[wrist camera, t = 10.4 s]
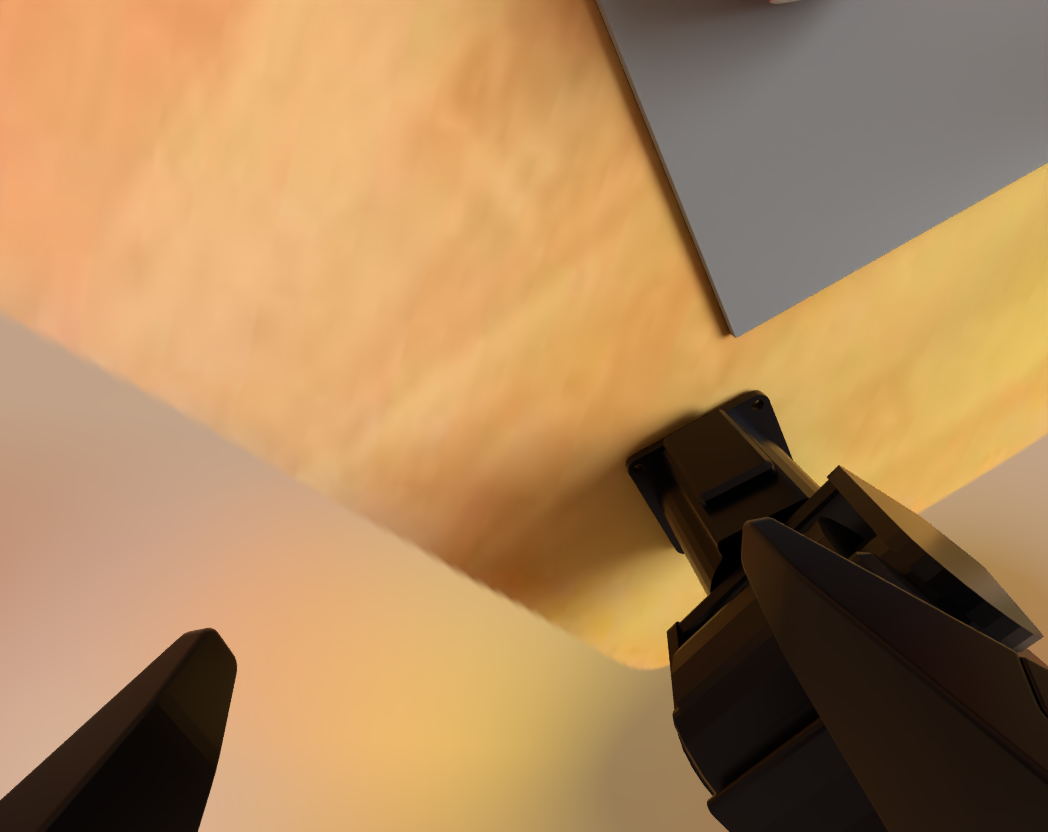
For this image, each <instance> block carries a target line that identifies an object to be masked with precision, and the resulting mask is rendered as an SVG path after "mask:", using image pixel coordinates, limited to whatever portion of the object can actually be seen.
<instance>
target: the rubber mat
mask: <svg viewBox="0 0 1048 832" xmlns="http://www.w3.org/2000/svg"><path fill="white" fill-rule="evenodd" d="M596 3H597V5H598V8H599V10H600V13H601V15H602V18H603V20H604V22H605V25H606V27H607V30H608V32H609V35H610V37H611V40H612V42H613V45H614V47H615V50H616V52H617V54H618V57H619V59H620V62H621V64H622V67H623V69H624V72H625V74H626V77H627V79H628V82H629V84H630V86H631V89H632V91H633V94H634V96H635V99H636V101H637V104H638V106H639V109H640V111H641V114H642V116H643V118H644V121H645V123H646V126H647V128H648V131H649V133H650V136H651V138H652V141H653V143H654V146H655V148H656V150H657V153H658V155H659V158H660V160H661V163H662V165H663V168H664V170H665V173H666V175H667V178H668V180H669V182H670V185H671V187H672V190H673V192H674V195H675V197H676V200H677V202H678V205H679V207H680V210H681V212H682V215H683V217H684V219H685V222H686V224H687V227H688V229H689V232H690V234H691V237H692V239H693V242H694V244H695V247H696V249H697V251H698V254H699V256H700V259H701V261H702V264H703V266H704V269H705V271H706V274H707V276H708V279H709V281H710V283H711V286H712V288H713V291H714V293H715V296H716V298H717V301H718V303H719V306H720V308H721V311H722V313H723V315H724V318H725V320H726V323H727V325H728V328H729V330H730V333H731V335H733V336H734V337H735V338H737V337H739V336H741V335H742V334H744V333H746V332H748V331H749V330H751V329H753V328H755V327H757V326H758V325H760V324H762V323H764V322H765V321H767V320H769V319H771V318H773V317H774V316H776V315H778V314H780V313H781V312H783V311H785V310H787V309H789V308H790V307H792V306H794V305H796V304H797V303H799V302H801V301H803V300H805V299H806V298H808V297H810V296H812V295H813V294H815V293H817V292H819V291H821V290H822V289H824V288H826V287H828V286H829V285H831V284H833V283H835V282H837V281H838V280H840V279H842V278H844V277H845V276H847V275H849V274H851V273H853V272H854V271H856V270H858V269H860V268H861V267H863V266H865V265H867V264H869V263H870V262H872V261H874V260H876V259H877V258H879V257H881V256H883V255H885V254H886V253H888V252H890V251H892V250H893V249H895V248H897V247H899V246H900V245H902V244H904V243H906V242H908V241H909V240H911V239H913V238H915V237H916V236H918V235H920V234H922V233H924V232H925V231H927V230H929V229H931V228H932V227H934V226H936V225H938V224H940V223H941V222H943V221H945V220H947V219H948V218H950V217H952V216H954V215H956V214H957V213H959V212H961V211H963V210H964V209H966V208H968V207H970V206H972V205H973V204H975V203H977V202H979V201H980V200H982V199H984V198H986V197H988V196H989V195H991V194H993V193H995V192H996V191H998V190H1000V189H1002V188H1004V187H1005V186H1007V185H1009V184H1011V183H1012V182H1014V181H1016V180H1018V179H1020V178H1021V177H1023V176H1025V175H1027V174H1028V173H1030V172H1032V171H1034V170H1036V169H1037V168H1039V167H1041V166H1043V165H1044V164H1046V163H1048V0H800V1H795V2H789V3H782V4H773V3H770V1H769V0H596Z"/></svg>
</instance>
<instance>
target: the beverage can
mask: <svg viewBox="0 0 1048 832" xmlns="http://www.w3.org/2000/svg"><path fill="white" fill-rule="evenodd" d="M769 1H770V3H773V4H782V3H789V2H795V1H800V0H769Z"/></svg>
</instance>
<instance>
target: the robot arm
mask: <svg viewBox="0 0 1048 832" xmlns="http://www.w3.org/2000/svg"><path fill="white" fill-rule="evenodd" d="M757 400H759V401H758V403H757V404H756V405H755V406H752V404H753V403H754V402H755V401H757ZM637 464H642V465H641V466H640V467H639V468H634V467H635V466H636V465H637ZM626 469H627V471H628V473H629V475H630V476H631V478H632V479H633V481H634V483H635V484H636V486H637V488H638V489H639V491H640V492H641V494H642V496H643V497H644V499H645V500H646V502H647V504H648V505H649V507H650V509H651V510H652V512H653V513H654V515H655V517H656V518H657V520H658V522H659V523H660V525H661V526H662V528H663V530H664V531H665V533H666V534H667V536H668V538H669V539H670V541H671V543H672V544H673V546H674V547H675V549H676V551H677V552H679V553H681V554H685V555H686V557H687V559H688V560H689V562H690V564H691V566H692V568H693V570H694V572H695V574H696V575H697V577H698V579H699V581H700V583H701V585H702V587H703V589H704V591H705V592H706V594H707V597H706V598H705V599H704V600H703V601H702V602H701V603H700V604H699V605H698V606H697V607H696V608H694V609H693V610H692V611H691V612H690V613H689V614H688V615H687V616H686V617H685V618H684V619H683V620H682V621H681V622H676V623H675V624H674V625H673V626H672V627H671V628H670V629H669V630H668V631H667V639H668V649H669V659H670V670H671V680H672V689H673V699H674V711H673V721H674V725H675V728H676V730H677V732H678V736H679V739H680V741H681V744H682V748H683V751H684V752H685V754H686V756H687V758H688V760H689V762H690V764H691V766H692V768H693V769H694V771H695V773H696V774H697V776H698V777H699V779H700V780H701V782H702V783H703V785H704V786H705V787H706V788H707V789H708V791H709V792H710V793H711V794H712V797H711V798H709V799H708V801H707V806H708V809H709V811H710V812H711V814H712V815H713V816H714V817H715V818H716V819H717V820H718V821H719V822H720V823H721V824H722V825H723V826H724V827H725V828H726V829H727V830H728V831H729V832H1048V666H1047V665H1046V664H1045V663H1044V662H1043V661H1041V660H1040V659H1039V658H1038V657H1037V656H1035V655H1034V654H1033V653H1032V652H1031V651H1030V650H1028V649H1027V648H1028V647H1029V646H1031V645H1032V644H1034V643H1035V642H1037V641H1038V640H1039V639H1041V638H1042V637H1043V635H1042V634H1041V632H1040V631H1039V630H1038V628H1037V627H1036V626H1035V625H1034V624H1033V623H1032V622H1031V620H1030V619H1029V618H1028V617H1027V616H1026V615H1025V613H1024V612H1023V611H1022V610H1021V609H1020V608H1019V607H1018V605H1017V604H1016V603H1015V602H1014V601H1013V600H1012V598H1011V597H1010V596H1009V595H1008V594H1007V593H1006V591H1005V590H1004V589H1003V588H1002V587H1001V586H1000V585H999V584H998V582H997V581H996V580H995V579H994V578H993V577H992V575H991V574H990V573H989V572H988V571H987V570H986V568H985V567H983V566H982V565H981V564H980V563H979V562H978V561H976V560H975V559H974V558H973V557H971V556H970V555H969V554H968V553H966V552H965V551H964V550H962V549H961V548H960V547H959V546H957V545H956V544H955V543H954V542H952V541H951V540H950V539H949V538H947V537H946V536H945V535H943V534H942V533H941V532H940V531H939V530H937V529H936V528H935V527H933V526H932V525H931V524H930V523H928V522H927V521H926V520H925V519H923V518H922V517H920V516H919V515H917V514H916V513H914V512H913V511H911V510H910V509H908V508H906V507H905V506H903V505H902V504H900V503H898V502H897V501H895V500H894V499H892V498H891V497H889V496H887V495H886V494H884V493H883V492H881V491H880V490H878V489H876V488H875V487H873V486H872V485H870V484H868V483H867V482H865V481H864V480H862V479H861V478H859V477H857V476H856V475H854V474H853V473H851V472H850V471H848V470H846V469H845V468H843V467H842V466H840V465H838V466H837V467H836V468H835V469H834V470H833V471H832V472H831V473H830V474H829V475H828V476H827V478H828V479H829V480H828V481H827V482H826V483H825V484H824V485H822V486H821V487H819V486H818V485H817V484H816V483H815V482H814V481H813V480H812V479H811V478H810V477H809V476H808V475H807V474H806V473H805V472H804V471H803V470H802V469H801V468H800V467H799V466H798V465H797V464H796V463H795V462H794V461H793V459H792V456H791V454H790V451H789V449H788V446H787V444H786V441H785V439H784V436H783V434H782V431H781V428H780V426H779V423H778V421H777V418H776V416H775V413H774V411H773V408H772V405H771V403H770V400H769V399H768V397H767V396H766V395H765V394H764V393H762V392H761V391H758V390H754V391H751V392H749V393H747V394H745V395H743V396H741V397H739V398H738V399H736V400H734V401H732V402H730V403H728V404H726V405H725V406H723V407H721V408H719V409H717V410H715V411H713V412H711V413H709V414H707V415H706V416H704V417H702V418H700V419H698V420H696V421H695V422H693V423H691V424H689V425H687V426H685V427H683V428H682V429H680V430H678V431H676V432H674V433H672V434H671V435H669V436H667V437H665V438H664V439H662V440H660V441H658V442H656V443H654V444H652V445H651V446H649V447H647V448H645V449H643V450H641V451H639V452H638V453H636V454H634V455H632V456H631V457H629V458H628V460H627V461H626ZM236 672H237V663H236V659H235V656H234V655H233V654H232V652H231V651H230V649H229V648H228V646H227V645H226V643H225V642H224V641H223V639H222V638H221V636H220V635H219V634H218V632H217V631H216V630H214V629H212V628H205V629H200V630H195V631H190V632H187V633H185V634H183V635H182V636H181V637H180V638H179V639H177V640H176V641H175V642H174V643H173V644H172V645H171V646H170V647H169V648H167V649H166V650H165V651H164V652H163V653H162V654H161V655H160V656H159V657H158V658H156V659H155V660H154V661H153V662H152V663H151V664H150V665H149V666H148V667H147V668H145V669H144V670H143V671H142V672H141V673H140V674H139V675H138V676H137V677H136V678H134V679H133V680H132V681H131V682H130V683H129V684H128V685H127V686H126V687H125V688H124V689H122V690H121V691H120V692H119V693H118V694H117V695H116V696H115V697H114V698H112V699H111V700H110V701H109V702H108V703H107V704H106V705H105V706H104V707H102V708H101V709H100V710H99V711H98V712H97V713H96V714H95V715H94V716H93V717H92V718H91V719H89V720H88V721H87V722H86V723H85V724H84V725H83V726H82V727H80V728H79V729H78V730H77V731H76V732H75V733H74V734H73V735H72V736H71V737H69V738H68V739H67V740H66V741H65V742H64V743H63V744H62V745H61V746H60V747H58V748H57V749H56V750H55V751H54V752H53V753H52V754H51V755H50V756H49V757H47V758H46V759H45V760H44V761H43V762H42V763H41V764H40V765H39V766H38V767H36V768H35V769H34V770H33V771H32V772H31V773H30V774H29V775H28V776H26V777H25V778H24V779H23V780H22V781H21V782H20V783H19V784H18V785H17V786H15V787H14V788H13V789H12V790H11V791H10V792H9V793H8V794H7V795H6V796H4V797H3V798H2V799H1V800H0V832H198V829H199V826H200V823H201V819H202V816H203V813H204V810H205V806H206V803H207V799H208V796H209V793H210V790H211V787H212V783H213V779H214V776H215V772H216V768H217V764H218V760H219V755H220V751H221V746H222V742H223V737H224V732H225V727H226V722H227V717H228V712H229V707H230V702H231V698H232V692H233V688H234V683H235V678H236Z"/></svg>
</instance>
